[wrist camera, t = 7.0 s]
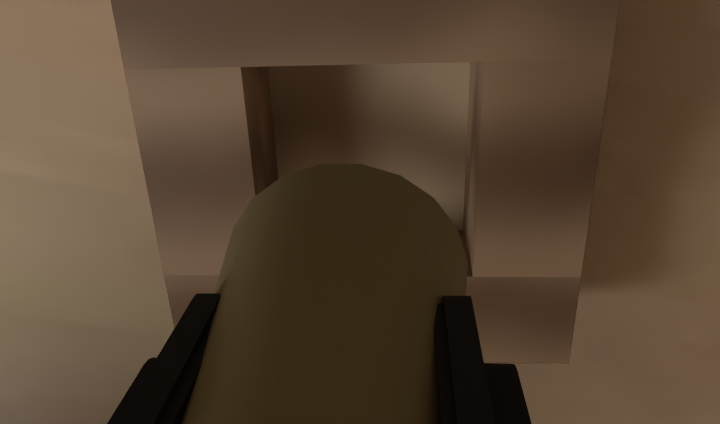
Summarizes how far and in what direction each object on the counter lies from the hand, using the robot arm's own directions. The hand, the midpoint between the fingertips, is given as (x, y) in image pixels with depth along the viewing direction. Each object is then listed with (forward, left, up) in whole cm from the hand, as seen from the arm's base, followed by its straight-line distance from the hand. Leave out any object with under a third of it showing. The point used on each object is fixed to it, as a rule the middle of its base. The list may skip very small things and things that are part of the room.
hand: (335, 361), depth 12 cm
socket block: (0, 0, -15) cm, 15 cm away
